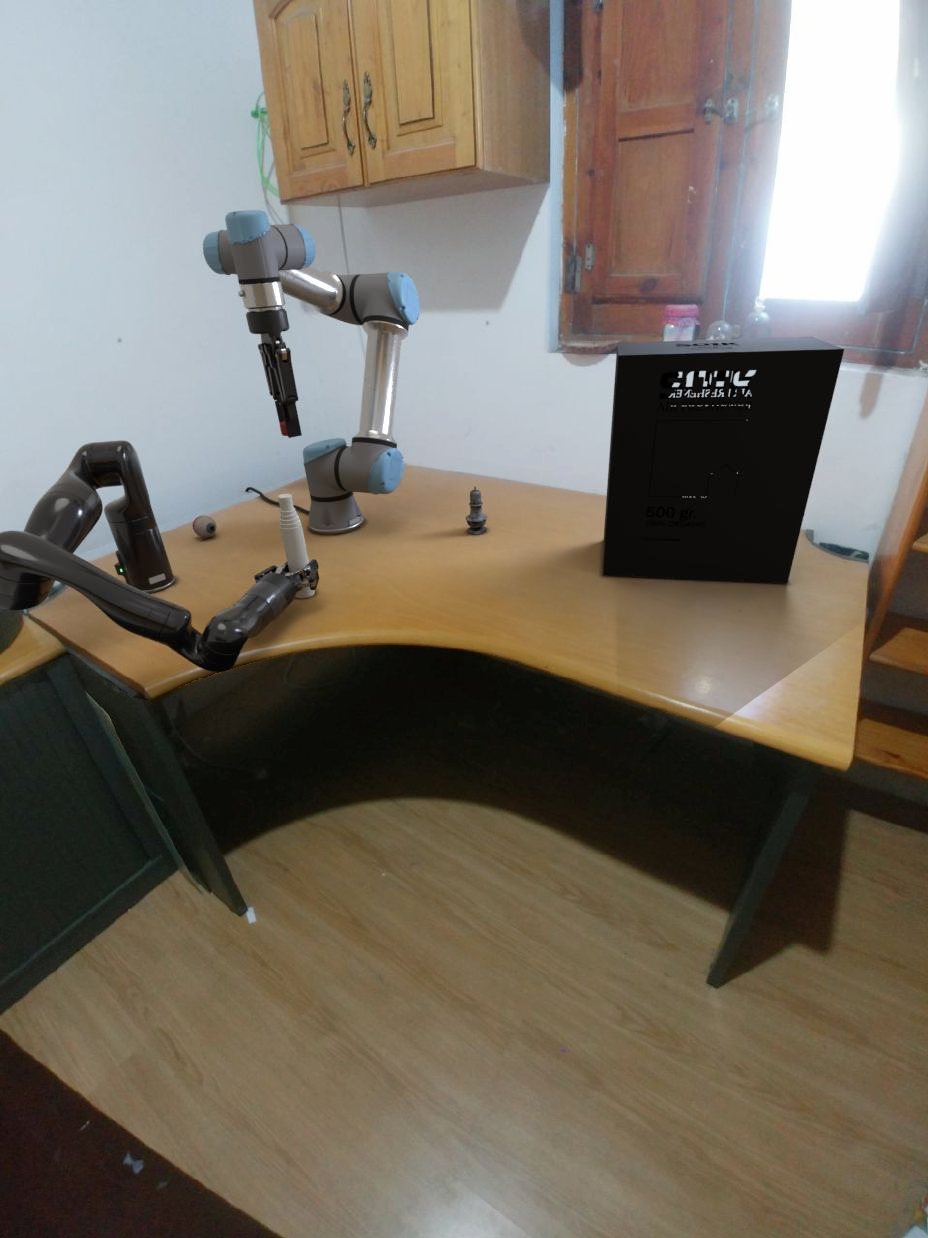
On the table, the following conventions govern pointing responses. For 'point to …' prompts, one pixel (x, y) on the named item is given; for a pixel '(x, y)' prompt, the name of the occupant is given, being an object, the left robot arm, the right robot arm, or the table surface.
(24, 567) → the left robot arm
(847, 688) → the table surface
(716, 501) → the cardboard box
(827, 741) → the table surface
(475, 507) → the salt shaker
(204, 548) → the table surface
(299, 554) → the bottle
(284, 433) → the cap
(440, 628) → the table surface
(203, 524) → the eyeball
